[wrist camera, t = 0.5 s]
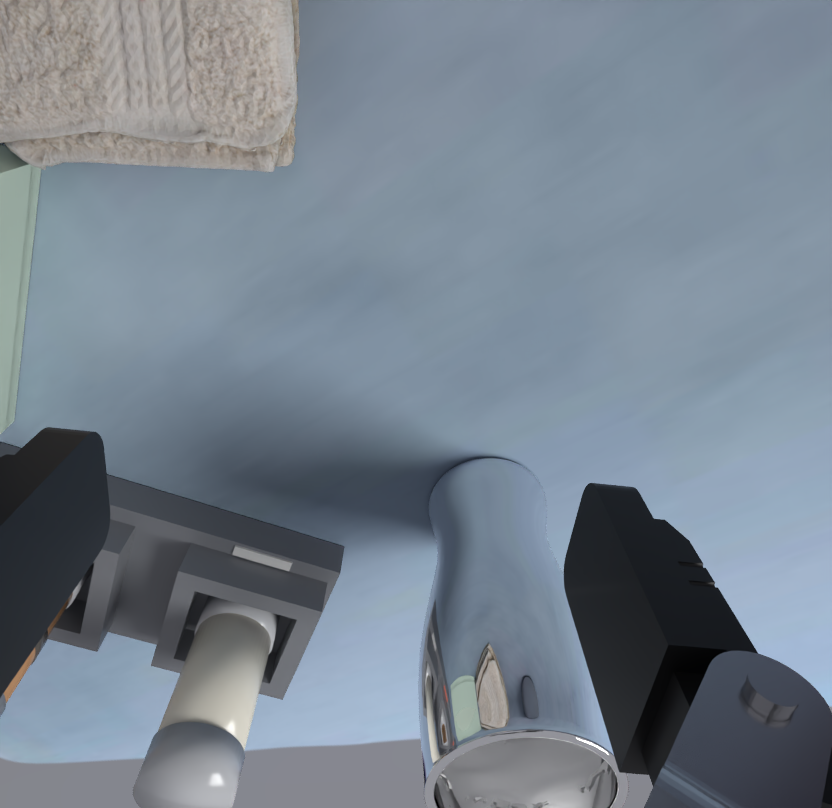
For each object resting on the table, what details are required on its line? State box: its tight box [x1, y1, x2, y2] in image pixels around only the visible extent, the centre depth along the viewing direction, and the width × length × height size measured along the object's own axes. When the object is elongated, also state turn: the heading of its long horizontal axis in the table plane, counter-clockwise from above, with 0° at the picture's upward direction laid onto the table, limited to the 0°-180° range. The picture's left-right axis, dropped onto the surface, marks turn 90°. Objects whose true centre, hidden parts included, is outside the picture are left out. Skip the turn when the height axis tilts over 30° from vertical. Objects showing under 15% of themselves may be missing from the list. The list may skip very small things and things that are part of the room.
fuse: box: [133, 595, 280, 808], centre depth 31 cm, size 4×4×10 cm
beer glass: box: [418, 458, 629, 808], centre depth 27 cm, size 7×7×15 cm
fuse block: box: [0, 442, 344, 700], centre depth 34 cm, size 9×18×4 cm, turn 68°
